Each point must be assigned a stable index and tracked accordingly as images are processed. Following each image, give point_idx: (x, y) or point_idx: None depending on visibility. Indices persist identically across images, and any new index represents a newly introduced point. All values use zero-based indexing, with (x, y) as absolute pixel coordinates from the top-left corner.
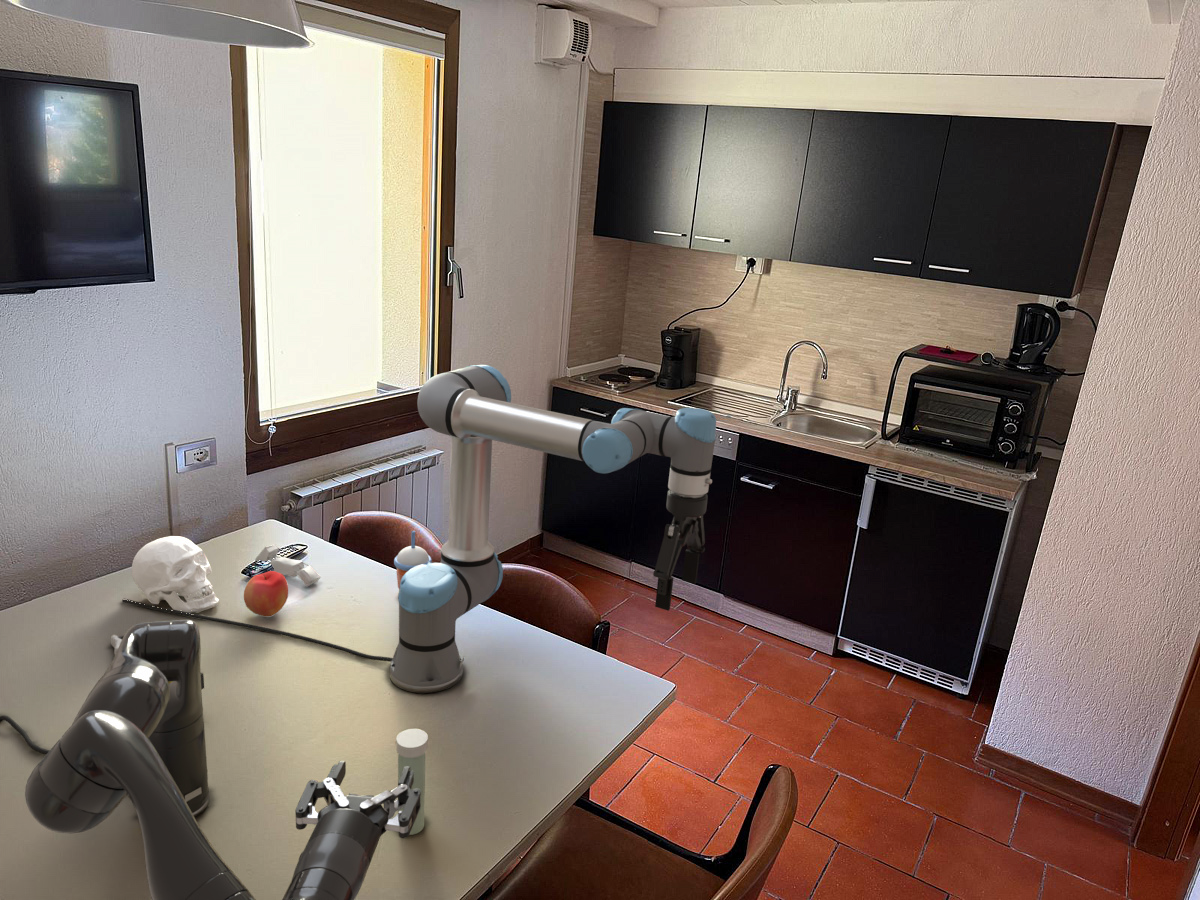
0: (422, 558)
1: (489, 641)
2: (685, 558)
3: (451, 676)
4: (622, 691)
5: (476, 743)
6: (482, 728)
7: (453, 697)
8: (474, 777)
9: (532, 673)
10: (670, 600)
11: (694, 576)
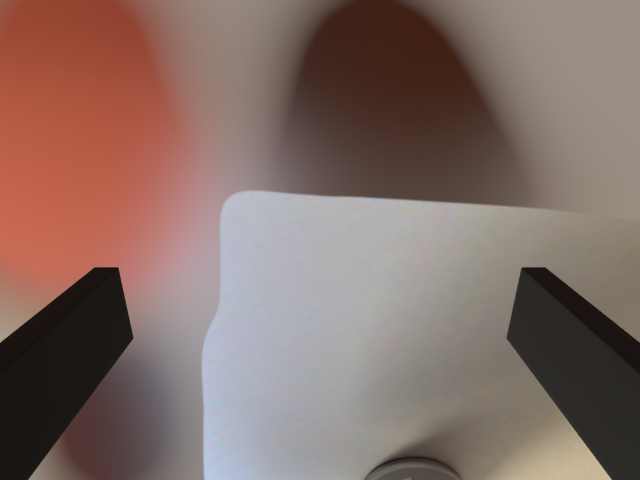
0: None
1: (282, 476)
2: (34, 462)
3: (427, 474)
4: (281, 258)
5: None
6: (495, 381)
7: (444, 443)
8: None
9: (323, 394)
10: (561, 297)
11: (92, 299)
